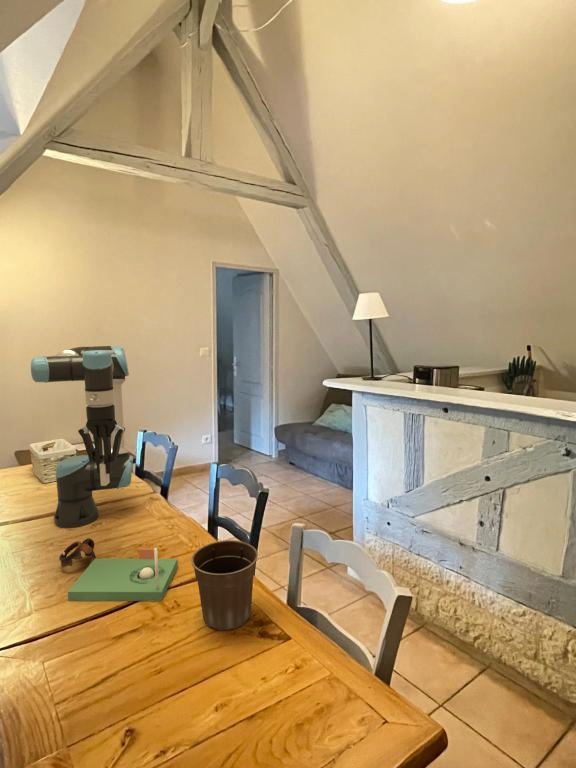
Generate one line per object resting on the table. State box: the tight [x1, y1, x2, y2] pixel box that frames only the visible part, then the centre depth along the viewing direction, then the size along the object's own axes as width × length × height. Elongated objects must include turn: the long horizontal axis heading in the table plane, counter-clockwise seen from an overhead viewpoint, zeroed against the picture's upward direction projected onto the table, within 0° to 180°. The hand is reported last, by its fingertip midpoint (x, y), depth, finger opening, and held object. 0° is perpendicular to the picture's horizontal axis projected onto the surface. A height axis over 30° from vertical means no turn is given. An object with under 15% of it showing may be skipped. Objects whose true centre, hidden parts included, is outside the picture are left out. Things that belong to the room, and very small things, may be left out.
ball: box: [139, 567, 154, 580], centre depth 131 cm, size 4×4×4 cm
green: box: [67, 558, 179, 602], centre depth 131 cm, size 25×17×2 cm
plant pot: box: [190, 539, 259, 631], centre depth 115 cm, size 16×16×16 cm
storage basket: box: [28, 438, 77, 484], centre depth 220 cm, size 24×16×15 cm
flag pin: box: [138, 547, 159, 590], centre depth 123 cm, size 1×5×14 cm, turn 89°
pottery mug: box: [58, 537, 98, 568], centre depth 141 cm, size 12×10×8 cm
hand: (105, 483), depth 134 cm, fingers closed
